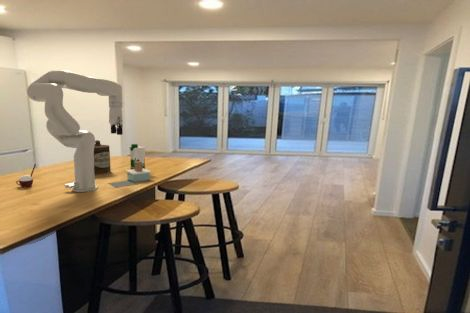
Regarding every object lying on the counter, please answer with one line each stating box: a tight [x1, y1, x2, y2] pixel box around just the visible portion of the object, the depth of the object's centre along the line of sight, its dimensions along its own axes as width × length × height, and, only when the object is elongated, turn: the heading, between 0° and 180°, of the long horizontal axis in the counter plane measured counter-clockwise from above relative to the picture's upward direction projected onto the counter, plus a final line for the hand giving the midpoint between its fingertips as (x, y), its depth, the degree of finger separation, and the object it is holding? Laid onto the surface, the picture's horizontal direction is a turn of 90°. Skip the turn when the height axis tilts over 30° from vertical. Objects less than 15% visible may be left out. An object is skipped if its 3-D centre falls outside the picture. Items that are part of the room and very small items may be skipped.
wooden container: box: [94, 139, 111, 175], centre depth 203 cm, size 15×15×22 cm
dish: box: [126, 172, 151, 183], centre depth 185 cm, size 10×10×5 cm
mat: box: [107, 179, 139, 189], centre depth 173 cm, size 13×13×1 cm
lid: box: [124, 161, 153, 175], centre depth 184 cm, size 12×12×6 cm
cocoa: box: [15, 164, 37, 188], centre depth 163 cm, size 10×6×12 cm, turn 93°
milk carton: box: [129, 143, 146, 170], centre depth 203 cm, size 9×9×20 cm
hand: (116, 134), depth 180 cm, fingers open, 9 cm apart
